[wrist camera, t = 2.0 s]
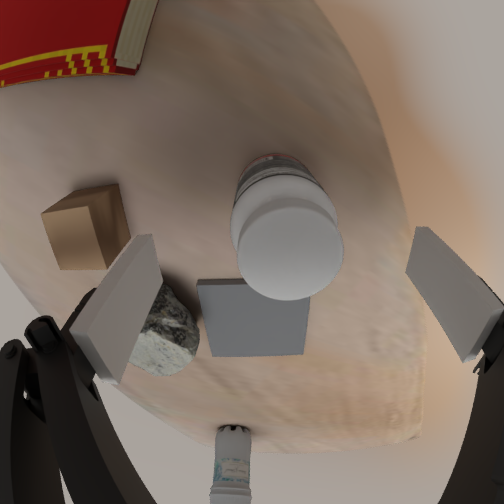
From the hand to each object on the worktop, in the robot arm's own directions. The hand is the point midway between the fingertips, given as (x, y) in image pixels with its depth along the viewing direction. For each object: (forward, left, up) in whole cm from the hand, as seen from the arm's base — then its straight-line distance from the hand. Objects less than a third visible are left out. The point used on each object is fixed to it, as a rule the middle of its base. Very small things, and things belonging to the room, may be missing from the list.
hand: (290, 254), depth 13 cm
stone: (+13, -14, -10) cm, 21 cm away
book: (-19, -17, -9) cm, 27 cm away
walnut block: (+1, -15, -9) cm, 18 cm away
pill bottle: (0, 0, -9) cm, 9 cm away
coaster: (+13, -2, -9) cm, 16 cm away
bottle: (+42, -7, -9) cm, 43 cm away
